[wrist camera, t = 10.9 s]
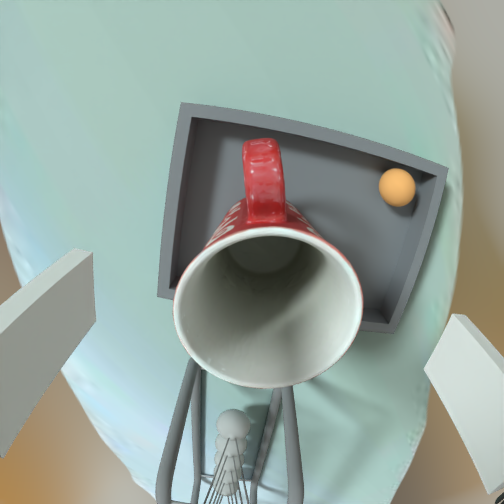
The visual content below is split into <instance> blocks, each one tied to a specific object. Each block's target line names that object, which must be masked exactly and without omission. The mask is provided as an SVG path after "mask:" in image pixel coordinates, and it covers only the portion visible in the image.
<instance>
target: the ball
mask: <svg viewBox="0 0 504 504" xmlns="http://www.w3.org/2000/svg"><path fill="white" fill-rule="evenodd" d="M415 190H416V187H415V182H414V179H413V178H412V176H411V175H410V174H409V173H408V172H407V171H405V170H403V169H399V168H394V169H390V170H388V171H386V172H385V173H384V174H383V175H382V177H381V179H380V181H379V192H380V195H381V197H382V198H383V200H384V201H385V202H386V203H388V204H389V205H392V206H395V207H401V206H404V205H406V204H408V203H409V202H410V201H411V200H412V199H413V197H414V195H415Z"/></svg>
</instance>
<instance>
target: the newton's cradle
mask: <svg viewBox="0 0 504 504" xmlns="http://www.w3.org/2000/svg"><path fill="white" fill-rule="evenodd" d="M201 369H203V370H205V369H204V368H202V367H201V366H200V365H199V364H198V363H197V362H196V361H195V360H194V359H193V358H192V357H191V358H190V359H189V362H188V365H187V368H186V372H185V375H184V379H183V382H182V386H181V389H180V393H179V396H178V400H177V403H176V407H175V410H174V414H173V418H172V421H171V425H170V429H169V432H168V436H167V440H166V443H165V447H164V451H163V455H162V458H161V462H160V466H159V470H158V474H157V480H156V490H155V493H156V501H157V504H190V503H184V502H178V501H173V500H171V487H172V480H173V475H174V470H175V466H176V461H177V457H178V452H179V448H180V443H181V439H182V434H183V430H184V426H185V421H186V417H187V413H188V409H189V404H190V400H191V413H192V442H193V463H194V485H193V491H192V497H191V504H198V498H199V491H200V484H201V477H209V478H213V480H212V483H211V486H210V488H209V491H208V493H207V496H206V499H205V501H204V504H205V503H206V501H207V498H208V496H209V493H210V490H211V488H212V485H213V486H214V491H213V494H212V496H211V499H210V502H209V504H210V503H211V501H212V498H213V495H214V493H215V491H216V492H217V494H216V496H215V499H214V502H213V504H214V503H215V500H216V498H217V495H218V493H219V497H218V500H217V503H216V504H218V501H219V498H220V495H222V497H223V496H227V497H228V503H229V504H230V502H229V496H230V495H231V500H232V504H233V498H232V495H233V494H235V500H236V504H238V503H237V498H236V492H237V490H239V495H240V500H241V504H243V502H242V497H241V492H240V487H239V482H238V481H243V484H244V489H245V494H246V499H247V504H249V500H248V495H247V490H246V486H245V481H251V488H250V504H257V486H258V481H259V478H260V474H261V471H262V467H263V464H264V461H265V457H266V454H267V450H268V447H269V443H270V439H271V436H272V432H273V429H274V425H275V421H276V417H277V413H278V410H279V406H280V402H281V398H282V405H283V418H284V432H285V446H286V460H287V475H288V501H287V504H303V499H304V482H303V473H302V463H301V454H300V445H299V436H298V427H297V418H296V410H295V401H294V393H293V385H292V386H287V387H280V388H274V389H273V394H272V398H271V403H270V407H269V412H268V416H267V420H266V424H265V429H264V433H263V437H262V441H261V445H260V449H259V453H258V457H257V461H256V465H255V469H254V473H253V477H252V479H244V476H243V471H242V465H243V463H244V456H243V453H244V451H245V450H246V448H247V440H246V437H245V436H246V435H247V434H248V433H249V431H250V426H251V424H250V420H249V418H248V416H247V415H246V414H245V413H244V412H242V411H240V410H237V409H229V410H226V411H224V412H223V413H221V414H220V415H219V417H218V419H217V422H216V427H217V431H218V432H219V434H218V436H217V438H216V441H215V446H216V449H217V450H218V451H217V452H216V454H215V457H214V460H215V464H216V466H215V468H214V476H209V475H202V474H201V435H200V410H201ZM241 474H242V479H240V477H241ZM222 497H221V500H222ZM221 500H220V502H219V504H220V503H221Z"/></svg>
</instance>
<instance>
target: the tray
mask: <svg viewBox="0 0 504 504" xmlns="http://www.w3.org/2000/svg"><path fill="white" fill-rule="evenodd" d="M260 138H272V139H275V140H276V141H277V142H278V144H279V147H280V151H281V159H282V166H283V173H284V181H285V196H286V200H287V201H288V202H290V203H291V204H292V205H293V206H294V207H296V208H297V210H299V212H300V213H301V214H302V215H303V216H304V218H305V219H306V220H307V221H308V222H309V223H310V224H311V226H312V227H313V228H314V229H315V230H316V231H317V232H318V233H319V234H320V235H321V236H322V237H323V238H324V240H326V241H327V242H329V243H330V244H332V245H333V246H335V247H336V248H337V249H338V250H339V251H340V252H341V253H342V254H343V255H344V256H345V257H346V258H347V259H348V260H349V262H350V263H351V265H352V266H353V268H354V270H355V272H356V273H357V275H358V278H359V281H360V283H361V287H362V292H363V316H362V321H361V325H360V327H359V330H362V331H371V332H380V333H390V334H394V332H395V330H396V328H397V325H398V323H399V321H400V318H401V316H402V314H403V311H404V309H405V306H406V304H407V302H408V299H409V297H410V294H411V291H412V289H413V286H414V284H415V281H416V278H417V275H418V273H419V270H420V267H421V264H422V261H423V258H424V255H425V252H426V249H427V246H428V243H429V240H430V237H431V234H432V230H433V227H434V224H435V220H436V217H437V213H438V210H439V206H440V202H441V198H442V194H443V190H444V186H445V182H446V178H447V173H448V169H449V168H447V167H445V166H442V165H440V164H437V163H434V162H432V161H429V160H427V159H424V158H421V157H419V156H416V155H413V154H410V153H407V152H404V151H402V150H399V149H396V148H393V147H390V146H387V145H384V144H380V143H377V142H374V141H371V140H367V139H364V138H361V137H357V136H354V135H350V134H347V133H343V132H339V131H336V130H332V129H328V128H324V127H320V126H316V125H312V124H308V123H303V122H299V121H294V120H290V119H285V118H280V117H275V116H270V115H265V114H260V113H254V112H248V111H243V110H236V109H230V108H223V107H216V106H209V105H201V104H192V103H183V102H181V105H180V110H179V116H178V121H177V127H176V133H175V139H174V145H173V151H172V158H171V164H170V171H169V179H168V186H167V194H166V202H165V211H164V220H163V229H162V239H161V250H160V262H159V276H158V292H157V297H161V298H165V299H170V300H174V295H175V291H176V287H177V285H178V282H179V280H180V278H181V276H182V274H183V272H184V271H185V269H186V268H187V266H188V265H189V264H190V262H191V261H192V260H193V259H194V258H195V257H196V256H197V255H198V254H199V253H200V252H201V251H202V250H203V249H204V247H205V246H206V244H207V242H208V241H209V240H210V239H211V237H212V236H213V234H214V232H215V231H216V229H217V228H218V226H219V225H220V223H221V222H222V220H223V219H224V217H225V215H226V214H227V212H228V211H229V210H230V209H231V207H232V206H233V205H235V204H236V203H237V202H238V201H240V200H242V199H243V198H246V194H245V184H244V172H243V161H242V146H243V144H244V142H246V141H248V140H253V139H260ZM394 168H399V169H403V170H405V171H407V172H408V173H409V174H410V175H411V176H412V178H413V179H414V182H415V187H416V190H415V195H414V197H413V199H412V200H411V201H410V202H409V203H408V204H406V205H404V206H401V207H395V206H392V205H389V204H388V203H386V202H385V201H384V200H383V198H382V197H381V195H380V192H379V181H380V179H381V177H382V175H383V174H384V173H385V172H386V171H388V170H390V169H394Z"/></svg>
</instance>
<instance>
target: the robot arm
mask: <svg viewBox="0 0 504 504" xmlns="http://www.w3.org/2000/svg"><path fill="white" fill-rule="evenodd" d="M95 322H96V312H95V298H94V279H93V252H89V251H85V250H80V249H76V248H74V249H72V250H71V251H70V252H68V253H67V254H65V255H64V256H63V257H61V258H60V259H59V260H57V261H56V262H55V263H53V264H52V265H51V266H49V267H48V268H47V269H45V270H44V271H43V272H41V273H40V274H39V275H37V276H36V277H35V278H34V279H32V280H31V281H30V282H28V283H27V284H26V285H25V286H23V287H22V288H21V289H20V290H18V291H17V292H16V293H15V294H14V295H12V296H11V297H10V298H9V299H8V300H6V301H5V302H4V303H3V304H2V305H0V457H1V458H4V457H5V455H6V453H7V451H8V450H9V448H10V446H11V444H12V443H13V441H14V439H15V438H16V436H17V435H18V433H19V431H20V430H21V428H22V427H23V425H24V423H25V422H26V420H27V419H28V417H29V415H30V414H31V412H32V411H33V409H34V408H35V406H36V405H37V403H38V402H39V400H40V399H41V397H42V396H43V394H44V393H45V391H46V390H47V388H48V387H49V385H50V384H51V382H52V381H53V379H54V378H55V376H56V375H57V373H58V372H59V371H60V369H61V368H62V367H63V365H64V364H65V362H66V361H67V360H68V358H69V357H70V355H71V354H72V353H73V351H74V350H75V349H76V347H77V346H78V344H79V343H80V342H81V340H82V339H83V338H84V336H85V335H86V334H87V332H88V331H89V330H90V328H91V327H92V326H93V324H94V323H95ZM424 371H425V372H426V374H427V376H428V378H429V379H430V381H431V383H432V384H433V386H434V388H435V390H436V391H437V393H438V395H439V397H440V399H441V400H442V402H443V404H444V406H445V408H446V410H447V411H448V413H449V415H450V417H451V419H452V420H453V422H454V424H455V426H456V428H457V430H458V432H459V434H460V436H461V438H462V440H463V442H464V444H465V446H466V448H467V450H468V452H469V454H470V456H471V458H472V460H473V462H474V464H475V467H476V468H477V470H478V473H479V475H480V477H481V479H482V482H483V484H484V486H485V488H486V491H487V493H488V495H489V494H491V493H493V492H495V491H498V490H500V489H502V488H503V487H504V358H503V356H502V355H501V354H500V353H499V352H498V351H497V350H496V348H494V346H493V345H492V344H491V343H490V341H489V340H488V339H487V338H486V337H485V336H484V335H483V334H482V333H481V332H480V330H479V329H478V328H477V327H476V326H475V325H474V324H473V323H472V322H471V321H470V320H469V318H467V316H466V315H461V314H452V316H451V318H450V320H449V322H448V324H447V326H446V328H445V330H444V332H443V334H442V336H441V338H440V340H439V342H438V344H437V346H436V347H435V349H434V351H433V353H432V355H431V357H430V359H429V360H428V362H427V364H426V366H425V367H424ZM503 499H504V493H502V494H501V495H500V496H499V497H498V498H497V500H496V502H495V504H498V503H499V502H500V501H501V500H503ZM501 504H504V501H503V502H502V503H501Z"/></svg>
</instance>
